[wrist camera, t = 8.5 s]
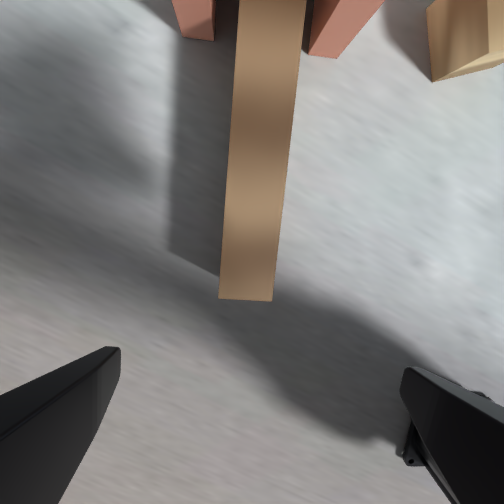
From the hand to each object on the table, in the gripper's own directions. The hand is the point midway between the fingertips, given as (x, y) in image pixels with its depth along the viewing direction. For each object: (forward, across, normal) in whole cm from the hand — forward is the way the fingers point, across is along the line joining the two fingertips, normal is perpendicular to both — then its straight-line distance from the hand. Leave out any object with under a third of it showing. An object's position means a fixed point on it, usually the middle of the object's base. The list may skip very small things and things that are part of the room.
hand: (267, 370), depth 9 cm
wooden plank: (+11, +1, -8) cm, 14 cm away
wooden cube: (+11, -11, -16) cm, 22 cm away
